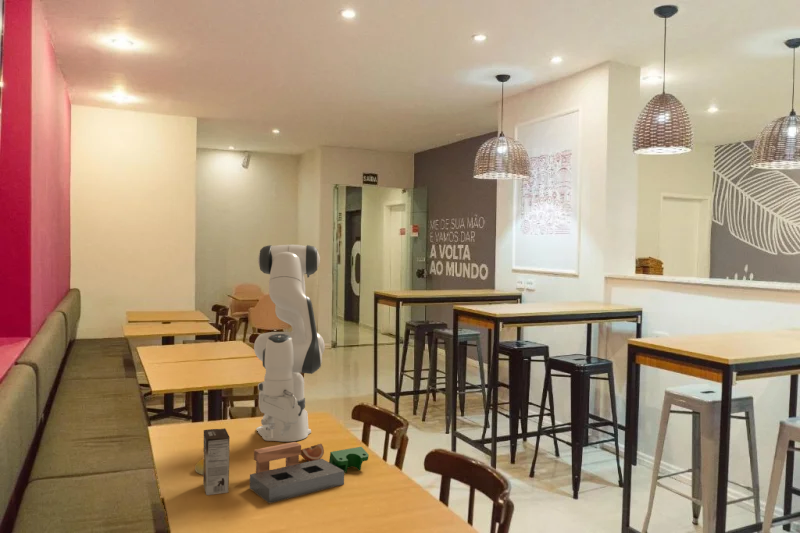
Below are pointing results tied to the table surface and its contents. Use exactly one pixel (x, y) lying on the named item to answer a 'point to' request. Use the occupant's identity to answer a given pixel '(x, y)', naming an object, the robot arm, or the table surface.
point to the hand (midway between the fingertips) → (278, 432)
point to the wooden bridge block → (277, 455)
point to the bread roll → (199, 467)
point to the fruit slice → (313, 452)
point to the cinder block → (296, 480)
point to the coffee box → (216, 461)
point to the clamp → (348, 458)
